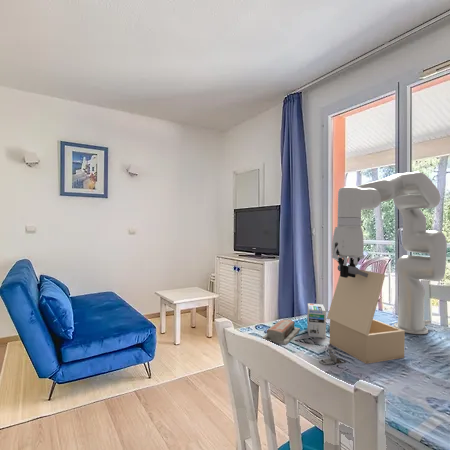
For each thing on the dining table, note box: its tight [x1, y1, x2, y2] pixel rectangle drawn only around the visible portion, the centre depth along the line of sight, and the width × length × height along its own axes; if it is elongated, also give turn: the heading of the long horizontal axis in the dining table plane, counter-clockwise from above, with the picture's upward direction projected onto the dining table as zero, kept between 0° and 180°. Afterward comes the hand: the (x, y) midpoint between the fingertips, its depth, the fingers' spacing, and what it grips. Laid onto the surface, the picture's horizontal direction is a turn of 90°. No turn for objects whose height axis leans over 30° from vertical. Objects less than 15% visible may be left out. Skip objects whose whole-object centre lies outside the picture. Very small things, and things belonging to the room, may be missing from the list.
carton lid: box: [326, 264, 386, 335], centre depth 108 cm, size 20×19×8 cm
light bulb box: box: [306, 302, 327, 339], centre depth 128 cm, size 11×7×11 cm, turn 168°
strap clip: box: [318, 348, 347, 366], centre depth 101 cm, size 8×3×4 cm, turn 108°
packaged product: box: [261, 319, 301, 345], centre depth 125 cm, size 18×5×10 cm
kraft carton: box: [329, 318, 406, 365], centre depth 111 cm, size 16×18×9 cm
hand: (347, 276), depth 108 cm, fingers closed on carton lid, 2 cm apart
